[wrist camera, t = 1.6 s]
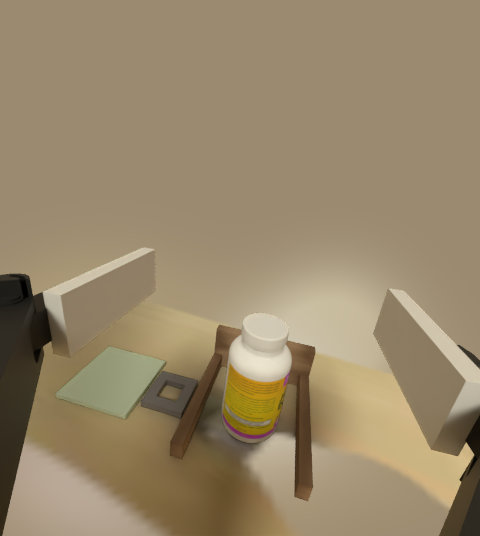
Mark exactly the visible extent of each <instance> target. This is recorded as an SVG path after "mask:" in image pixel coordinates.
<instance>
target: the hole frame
mask: <svg viewBox="0 0 480 536" xmlns="http://www.w3.org/2000/svg"><path fill="white" fill-rule="evenodd" d="M166 385H170V386H173V387H177V388H180V389H183V390H182V392H181V394H180V396H179V398H178V399H177V401H172V400H169V399H166V398H162V397H159V395H160V394H161V392H162V391H163V389H164V387H165V386H166ZM197 385H198V381H197V380H194V379H190V378H186V377H183V376H179V375H176V374H172V373H168V372H165V371H162V372H161V374H160V375H159V377H158V378H157V379H156V381H155V382H154V384H153V385H152V386H151V388H150V389H149V391H148V392H147V393H146V395H145V396H144V398H143V399H142V400H141V406H142V407H146V408H149V409H152V410H156V411H159V412H162V413H165V414H169V415H172V416H175V417H178V418H181V417H182V415H183V413H184V411H185V409H186V407H187V405H188V403H189V401H190V399H191V397H192V395H193V393H194V391H195V389H196V387H197Z"/></svg>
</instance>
